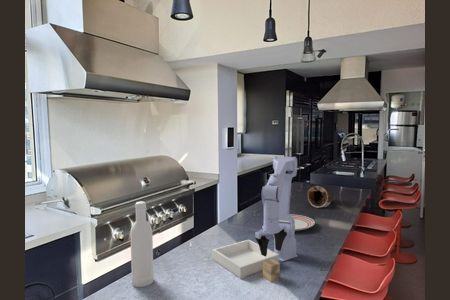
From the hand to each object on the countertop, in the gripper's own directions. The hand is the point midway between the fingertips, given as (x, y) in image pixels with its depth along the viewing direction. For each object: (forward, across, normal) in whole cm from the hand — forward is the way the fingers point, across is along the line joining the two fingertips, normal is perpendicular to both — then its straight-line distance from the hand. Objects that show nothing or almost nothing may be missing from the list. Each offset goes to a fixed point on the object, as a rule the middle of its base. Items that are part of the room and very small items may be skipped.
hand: (271, 252), depth 113 cm
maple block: (+10, 0, 0) cm, 10 cm away
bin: (+10, -1, -16) cm, 19 cm away
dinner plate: (+10, -52, -36) cm, 64 cm away
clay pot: (+10, -107, -52) cm, 119 cm away
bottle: (+10, +40, -27) cm, 49 cm away
